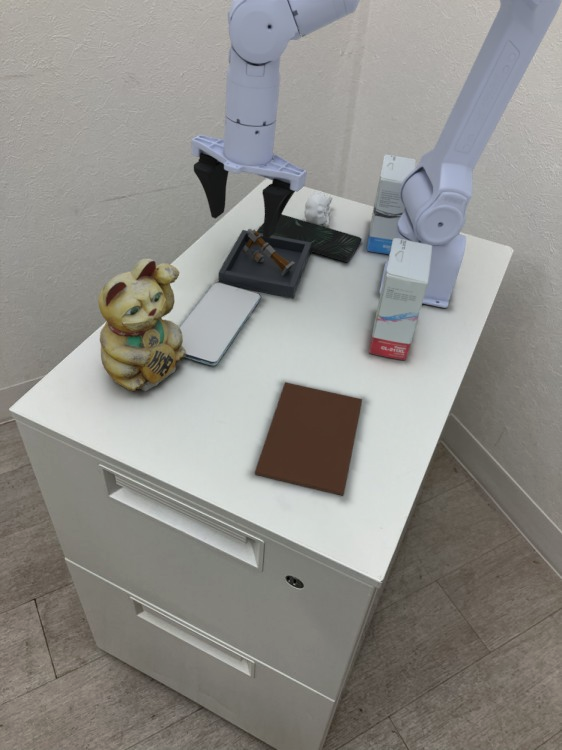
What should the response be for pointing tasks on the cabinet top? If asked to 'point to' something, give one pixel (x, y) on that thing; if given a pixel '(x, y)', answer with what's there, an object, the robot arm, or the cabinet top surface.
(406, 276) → the ink box
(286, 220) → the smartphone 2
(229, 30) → the robot arm
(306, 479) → the desk pad
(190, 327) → the smartphone
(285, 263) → the brown grey jointed column
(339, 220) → the cabinet top surface
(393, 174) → the ink box
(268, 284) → the tray
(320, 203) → the toy
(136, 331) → the decorative figurine
